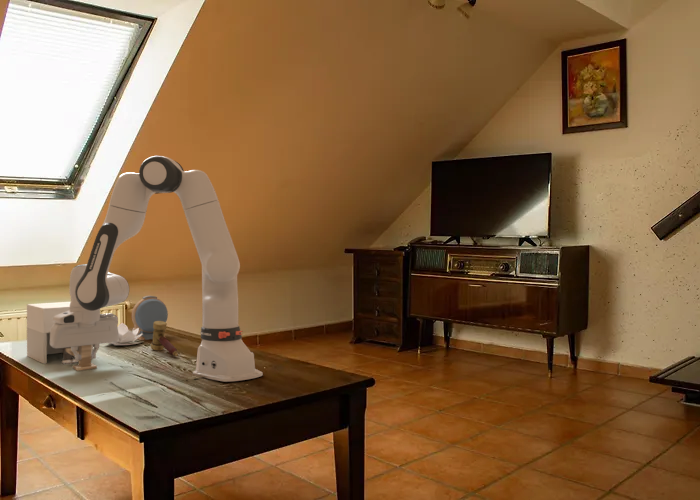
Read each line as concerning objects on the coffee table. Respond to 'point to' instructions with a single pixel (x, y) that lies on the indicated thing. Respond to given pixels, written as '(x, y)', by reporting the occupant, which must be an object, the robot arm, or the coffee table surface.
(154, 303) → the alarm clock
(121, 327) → the lotus flower
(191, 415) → the coffee table surface
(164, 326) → the gavel
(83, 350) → the hook tool
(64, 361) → the disc
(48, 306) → the cabinet
